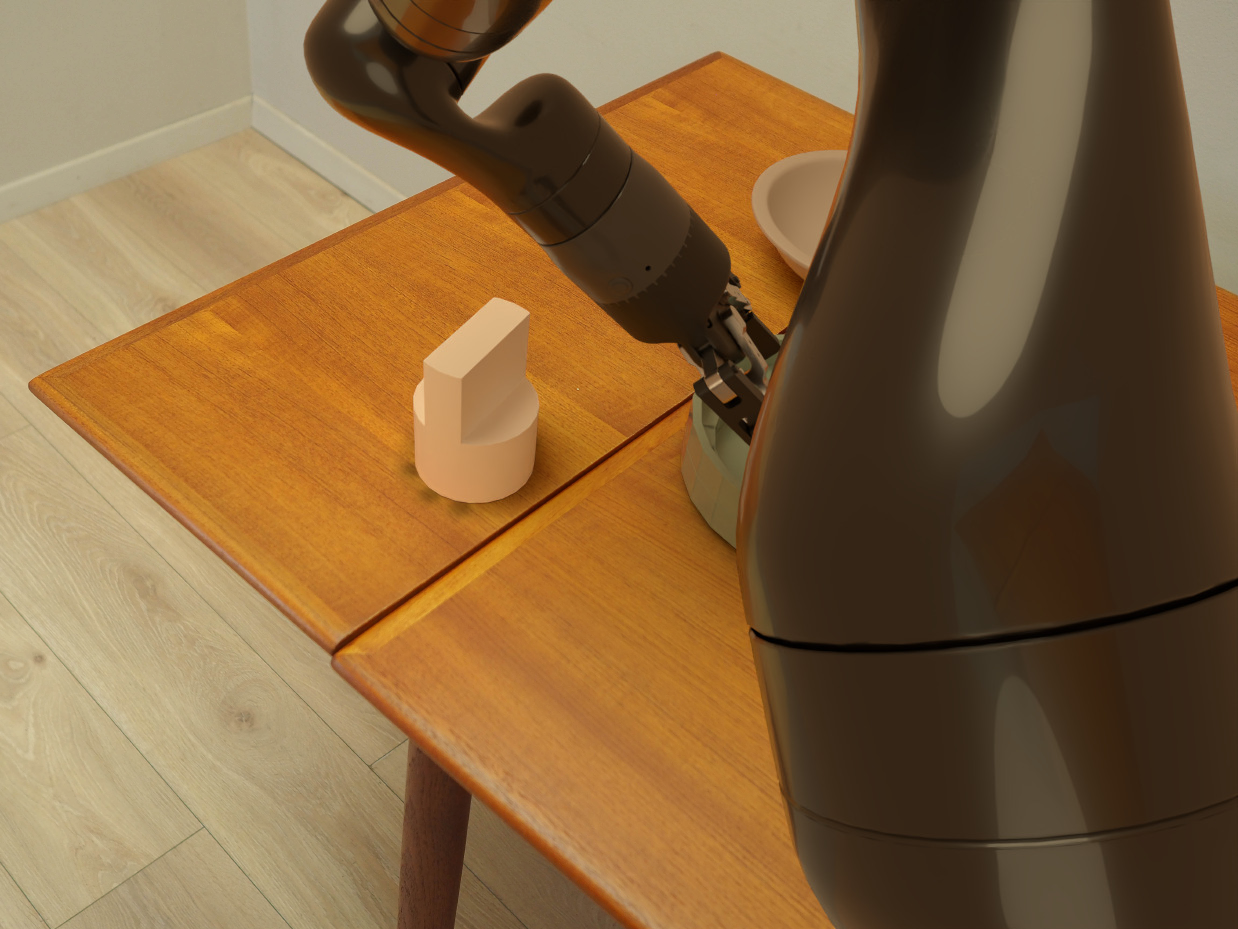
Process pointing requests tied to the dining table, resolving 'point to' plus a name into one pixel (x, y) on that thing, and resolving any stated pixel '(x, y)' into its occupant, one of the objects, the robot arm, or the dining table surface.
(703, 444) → the bowl
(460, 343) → the cylinder with rectangular tab
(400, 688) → the dining table surface
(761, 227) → the oval vessel sink
